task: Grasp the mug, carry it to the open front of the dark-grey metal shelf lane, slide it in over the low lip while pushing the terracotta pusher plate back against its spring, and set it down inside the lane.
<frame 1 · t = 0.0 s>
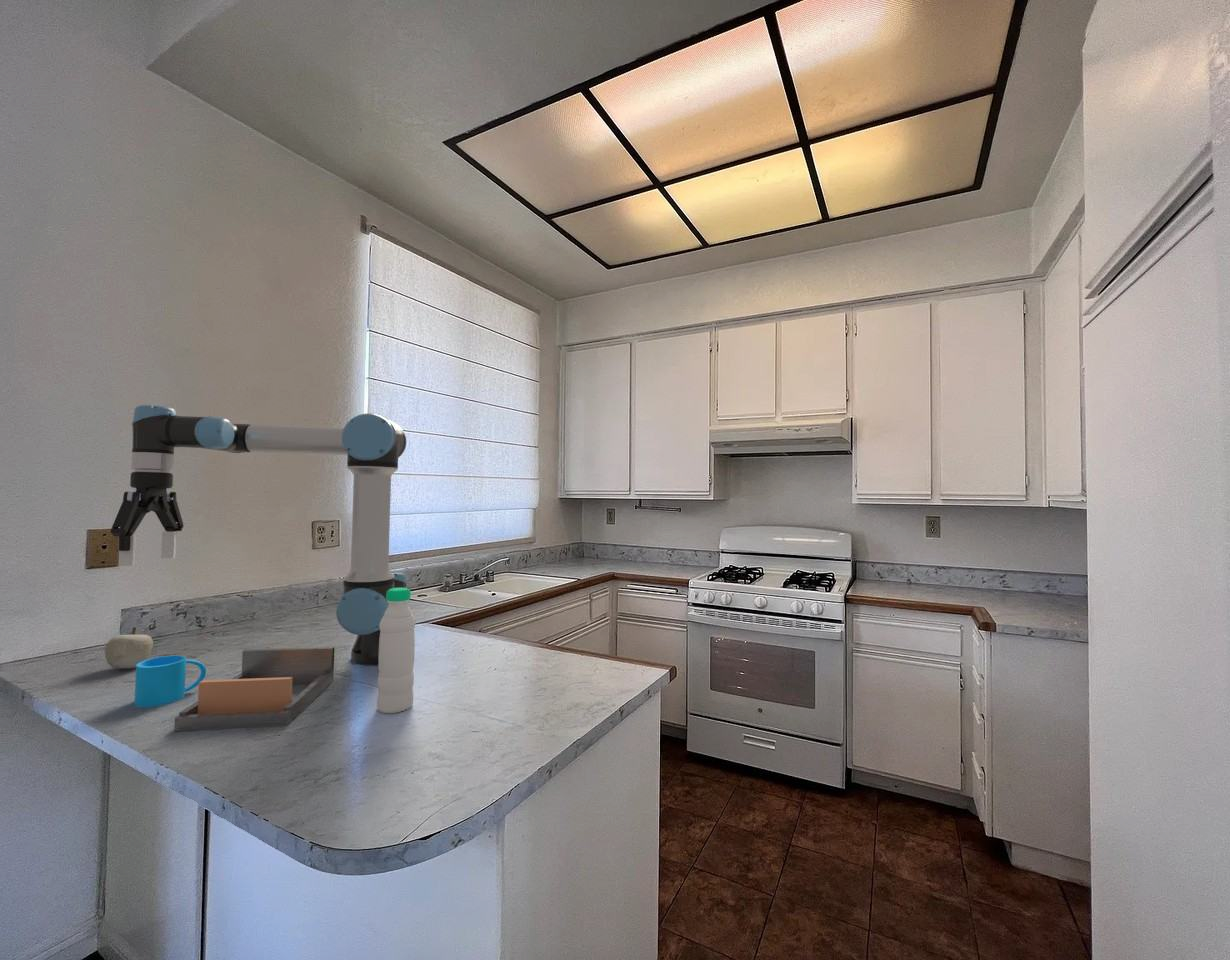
hand: (148, 561, 123), 28 cm above the counter, fingers open, 13 cm apart
lane: (263, 702, 111), on the counter
mug: (171, 697, 113), on the counter
pusher: (249, 695, 105), point 4 cm above the counter, slide at 0.0 cm
water bottle: (395, 708, 110), on the counter
decorative object: (128, 669, 130), on the counter
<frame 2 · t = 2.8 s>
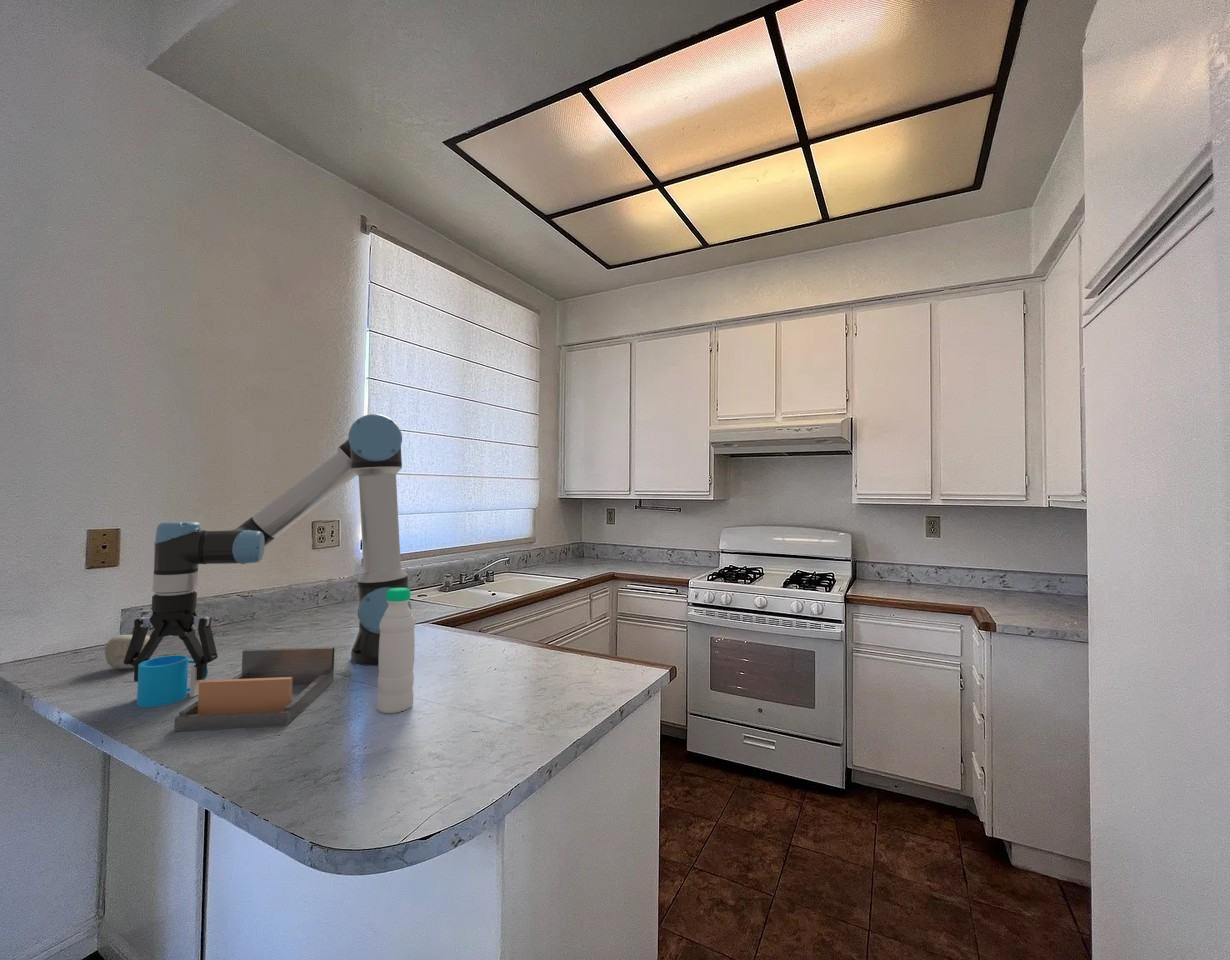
hand: (169, 695, 113), 0 cm above the counter, fingers open, 9 cm apart
nothing on the counter moved.
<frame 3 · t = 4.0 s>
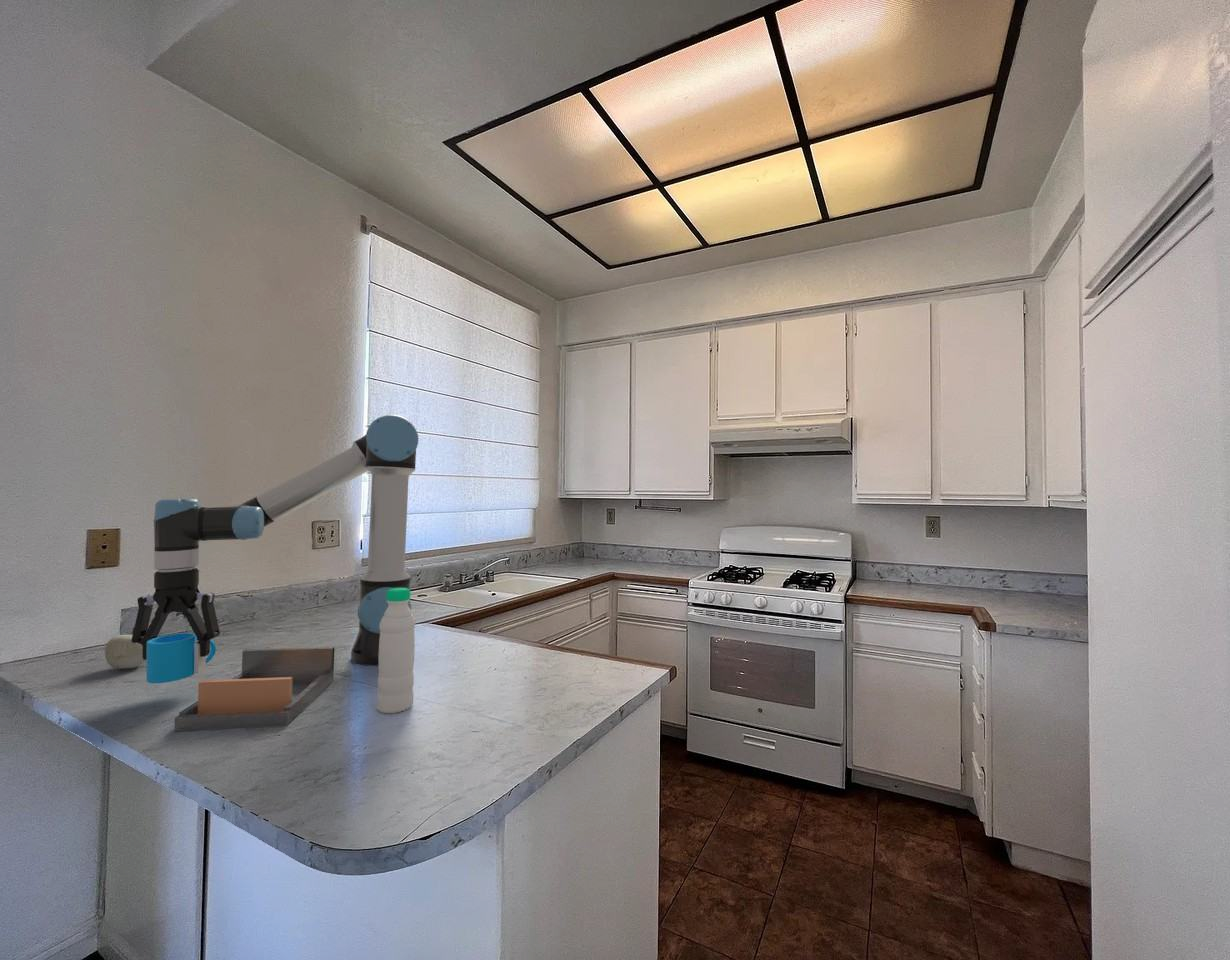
hand: (176, 672, 114), 5 cm above the counter, fingers closed on mug, 8 cm apart
mug: (182, 674, 114), point 5 cm above the counter, touching gripper
everything else where it was.
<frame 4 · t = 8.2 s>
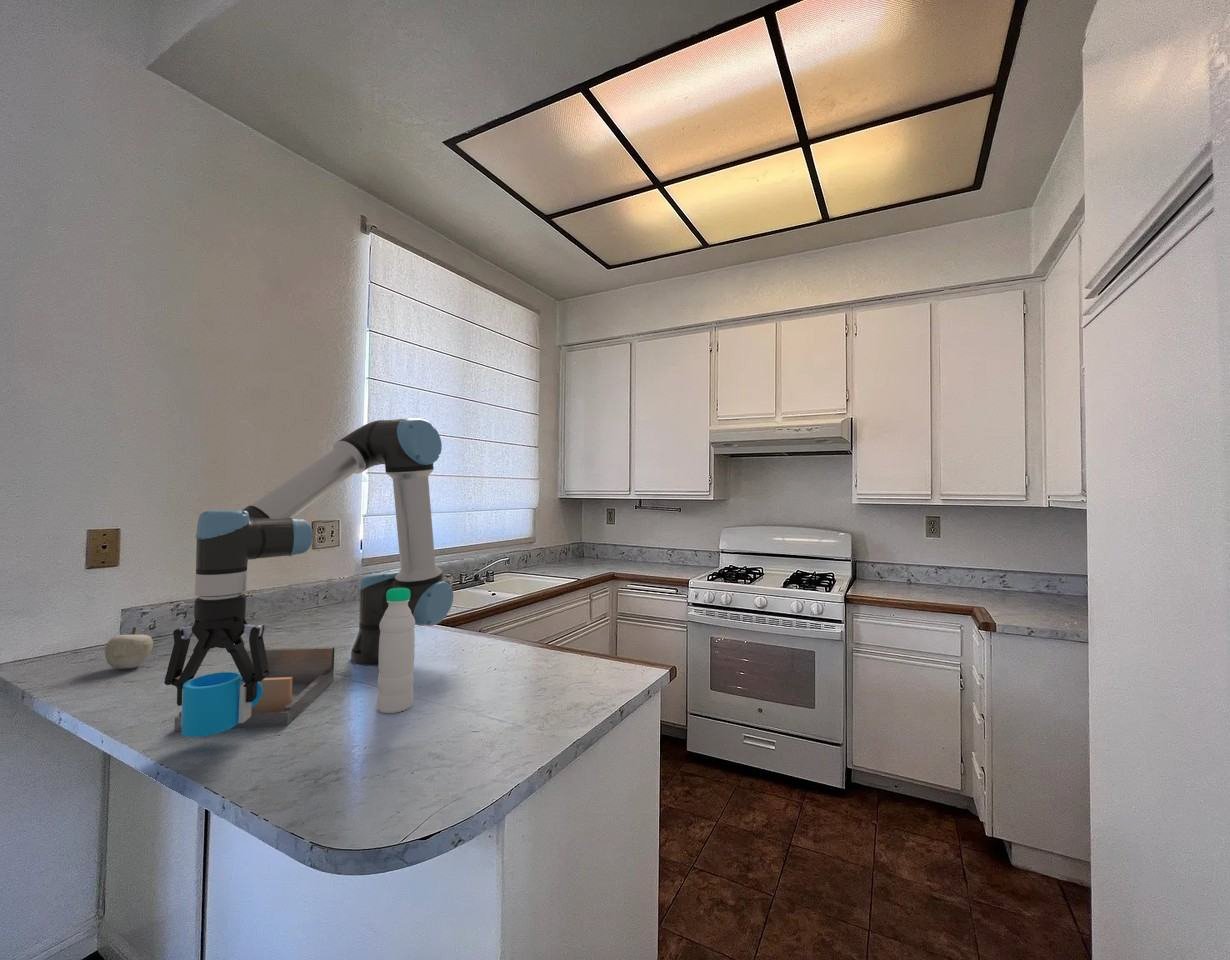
hand: (216, 721, 94), 4 cm above the counter, fingers closed on mug, 8 cm apart
mug: (224, 723, 94), point 3 cm above the counter, touching gripper
everything else where it was.
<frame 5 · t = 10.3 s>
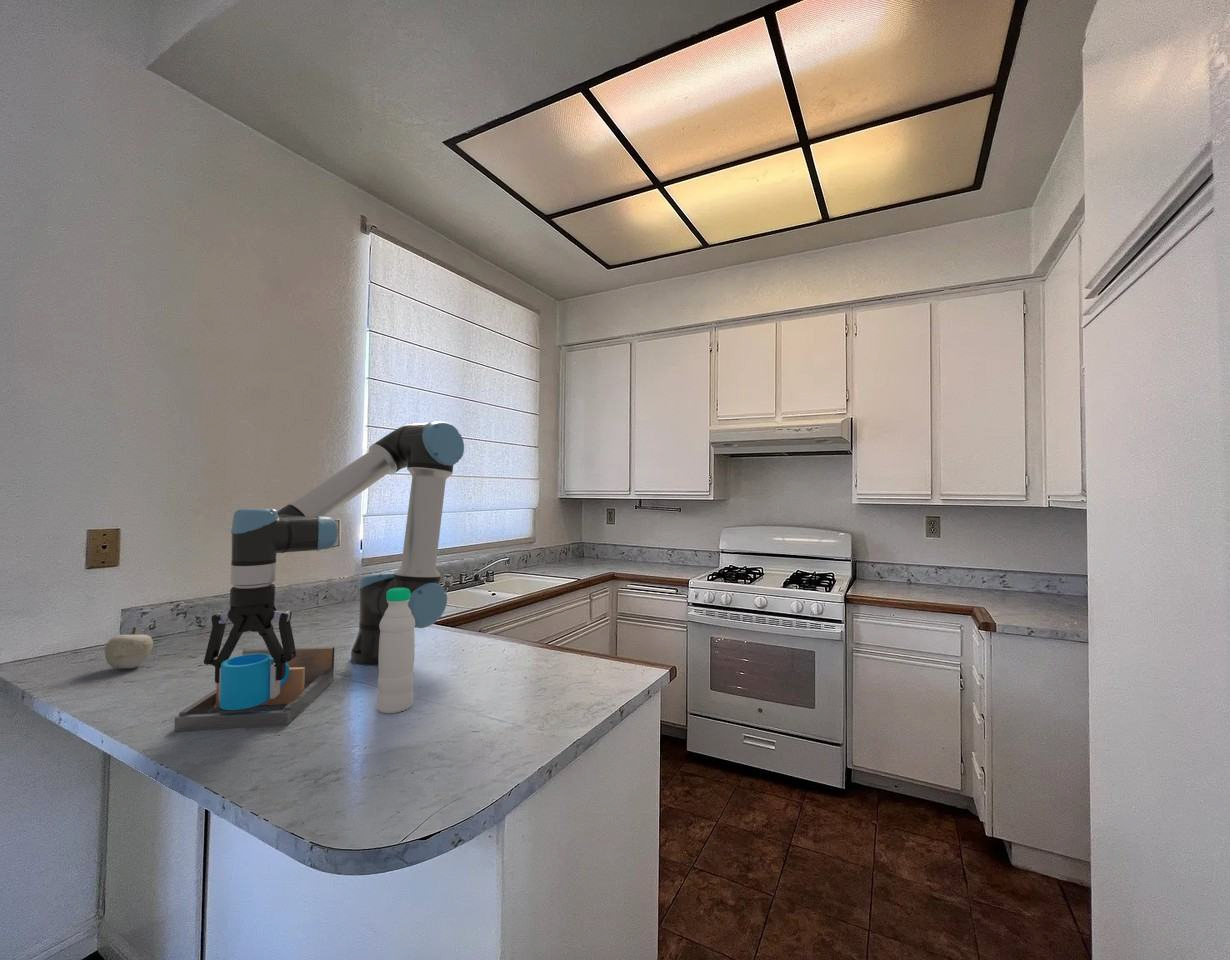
hand: (250, 697, 105), 4 cm above the counter, fingers closed on mug, 8 cm apart
mug: (256, 699, 105), point 3 cm above the counter, touching gripper, pusher
pusher: (264, 684, 111), point 4 cm above the counter, slide at 6.1 cm, touching mug
everything else where it was.
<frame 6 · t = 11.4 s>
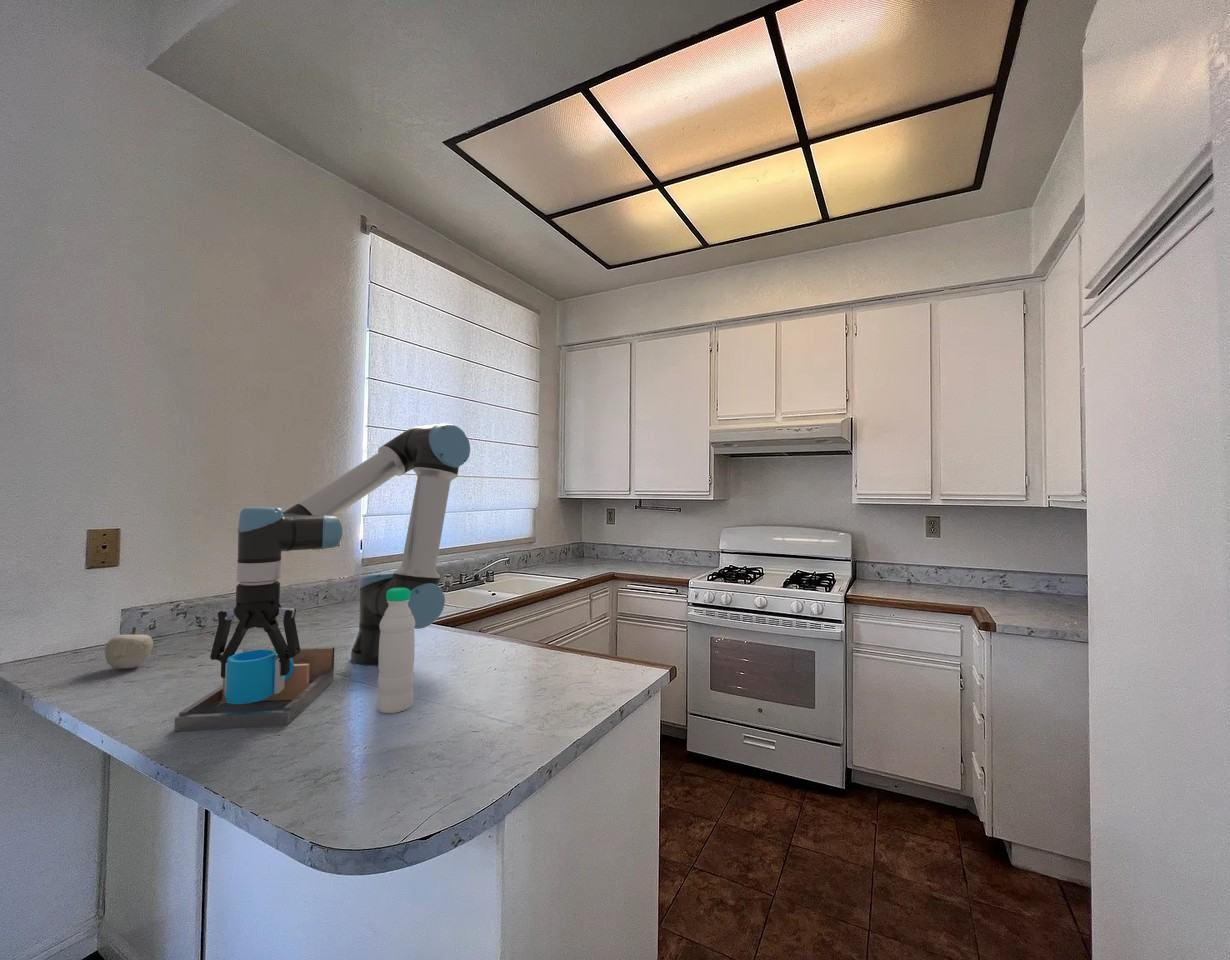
hand: (255, 691, 107), 4 cm above the counter, fingers closed on mug, 8 cm apart
mug: (261, 694, 108), point 3 cm above the counter, touching gripper, pusher
pusher: (270, 680, 114), point 4 cm above the counter, slide at 8.4 cm, touching mug
everything else where it was.
when the fingers open (0 cm above the counter, at t = 12.8 s): mug stays where it is, resting in lane.
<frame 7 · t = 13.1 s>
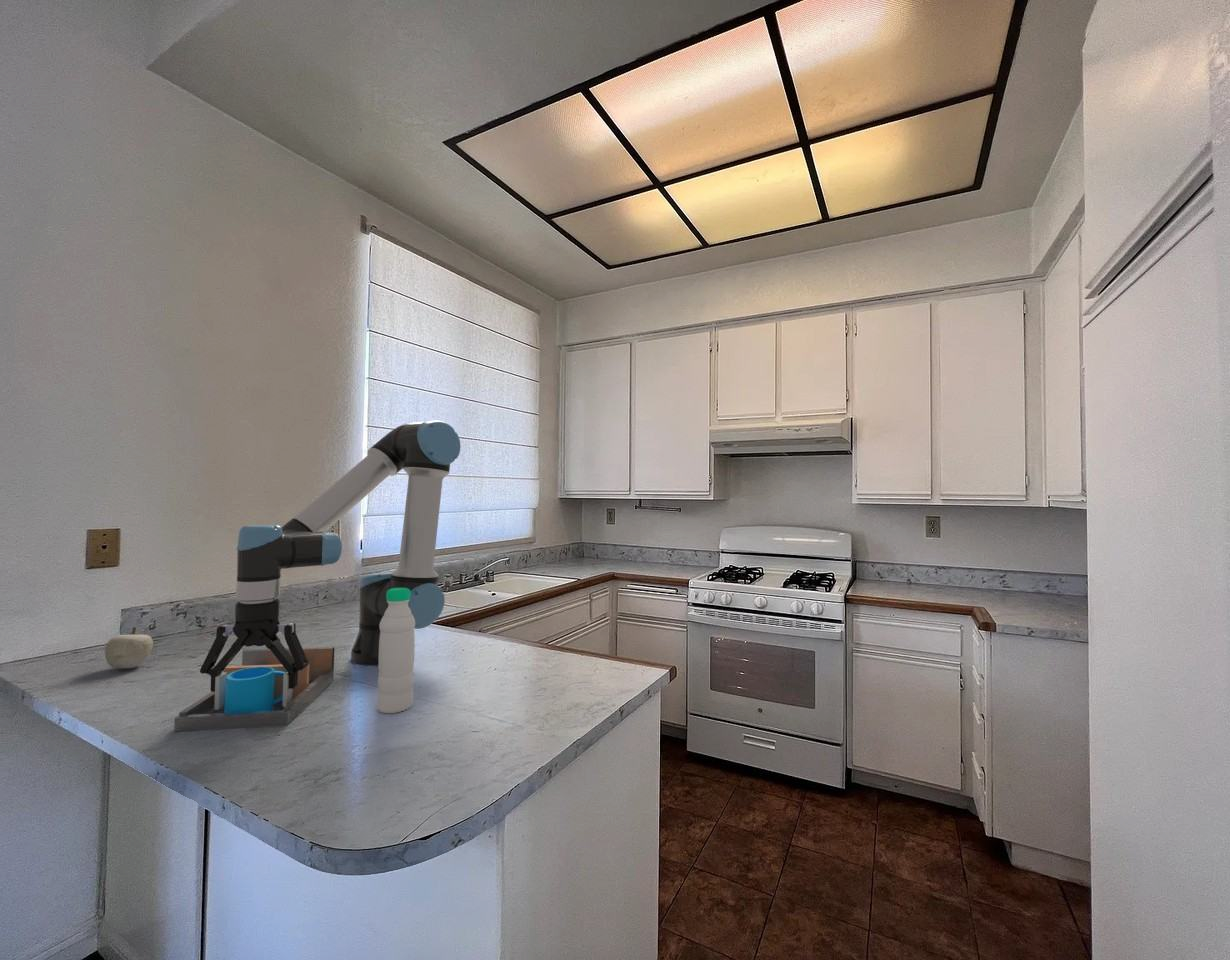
hand: (254, 705, 107), 1 cm above the counter, fingers open, 12 cm apart
mug: (259, 711, 107), resting in lane
pusher: (270, 680, 114), point 4 cm above the counter, slide at 8.4 cm
everything else where it was.
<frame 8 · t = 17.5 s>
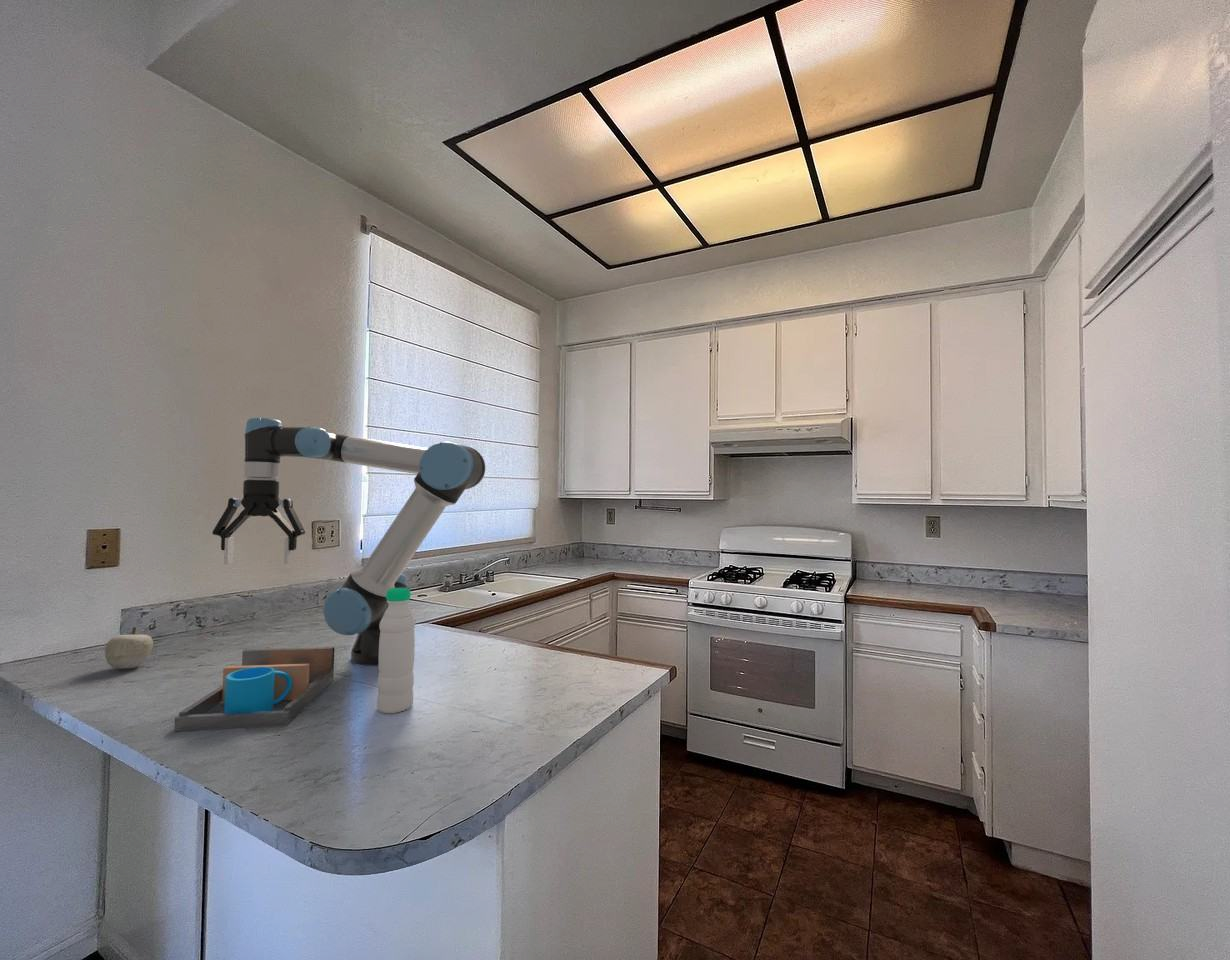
hand: (258, 563, 131), 27 cm above the counter, fingers open, 13 cm apart
nothing on the counter moved.
at the end: mug inside the target area (1.1 cm from its centre), resting in lane; mug tilted 0°; pusher slide at 8.4 cm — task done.
